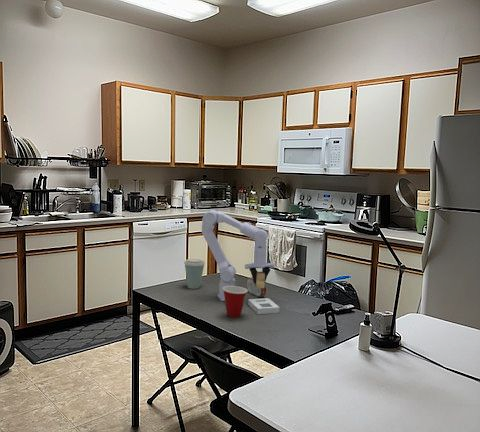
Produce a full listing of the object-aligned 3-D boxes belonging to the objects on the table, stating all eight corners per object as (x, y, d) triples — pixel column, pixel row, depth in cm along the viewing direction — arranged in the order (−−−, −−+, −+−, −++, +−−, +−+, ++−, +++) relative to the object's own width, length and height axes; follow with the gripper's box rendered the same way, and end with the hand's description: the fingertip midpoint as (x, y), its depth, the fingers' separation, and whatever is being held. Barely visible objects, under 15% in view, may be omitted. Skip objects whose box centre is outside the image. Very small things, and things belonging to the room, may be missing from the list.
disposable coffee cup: (184, 284, 236) (184, 257, 234) (204, 284, 237) (204, 257, 236) (183, 290, 225) (184, 261, 224) (204, 290, 227) (205, 261, 225)
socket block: (248, 304, 204) (248, 299, 204) (268, 303, 207) (268, 298, 207) (257, 314, 191) (258, 308, 191) (279, 312, 194) (279, 307, 194)
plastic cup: (249, 319, 185) (249, 291, 183) (223, 320, 183) (224, 292, 181) (244, 311, 195) (245, 284, 194) (220, 311, 193) (221, 285, 192)
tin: (266, 298, 215) (266, 281, 214) (260, 299, 213) (261, 282, 212) (250, 290, 228) (250, 274, 227) (245, 291, 226) (245, 275, 225)
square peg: (253, 286, 212) (254, 271, 211) (261, 285, 213) (262, 271, 212) (256, 288, 208) (257, 273, 207) (264, 287, 209) (264, 273, 208)
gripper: (248, 257, 203) (247, 285, 204) (277, 256, 207) (276, 284, 209) (243, 254, 210) (242, 281, 211) (272, 253, 214) (271, 280, 215)
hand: (259, 282), depth 210 cm, fingers closed on square peg, 4 cm apart
